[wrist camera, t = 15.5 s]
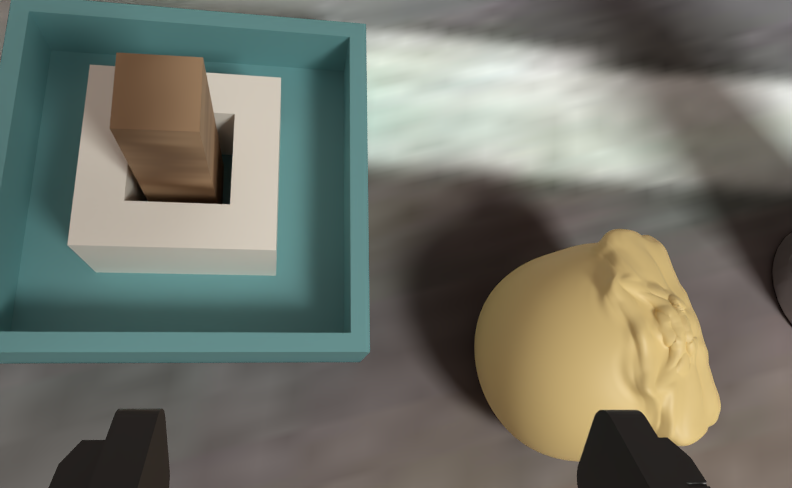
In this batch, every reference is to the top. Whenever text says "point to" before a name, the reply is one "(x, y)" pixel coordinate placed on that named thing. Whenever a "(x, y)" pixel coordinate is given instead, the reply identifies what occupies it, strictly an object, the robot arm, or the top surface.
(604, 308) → the sculpture
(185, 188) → the peg
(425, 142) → the top surface
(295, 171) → the socket box
